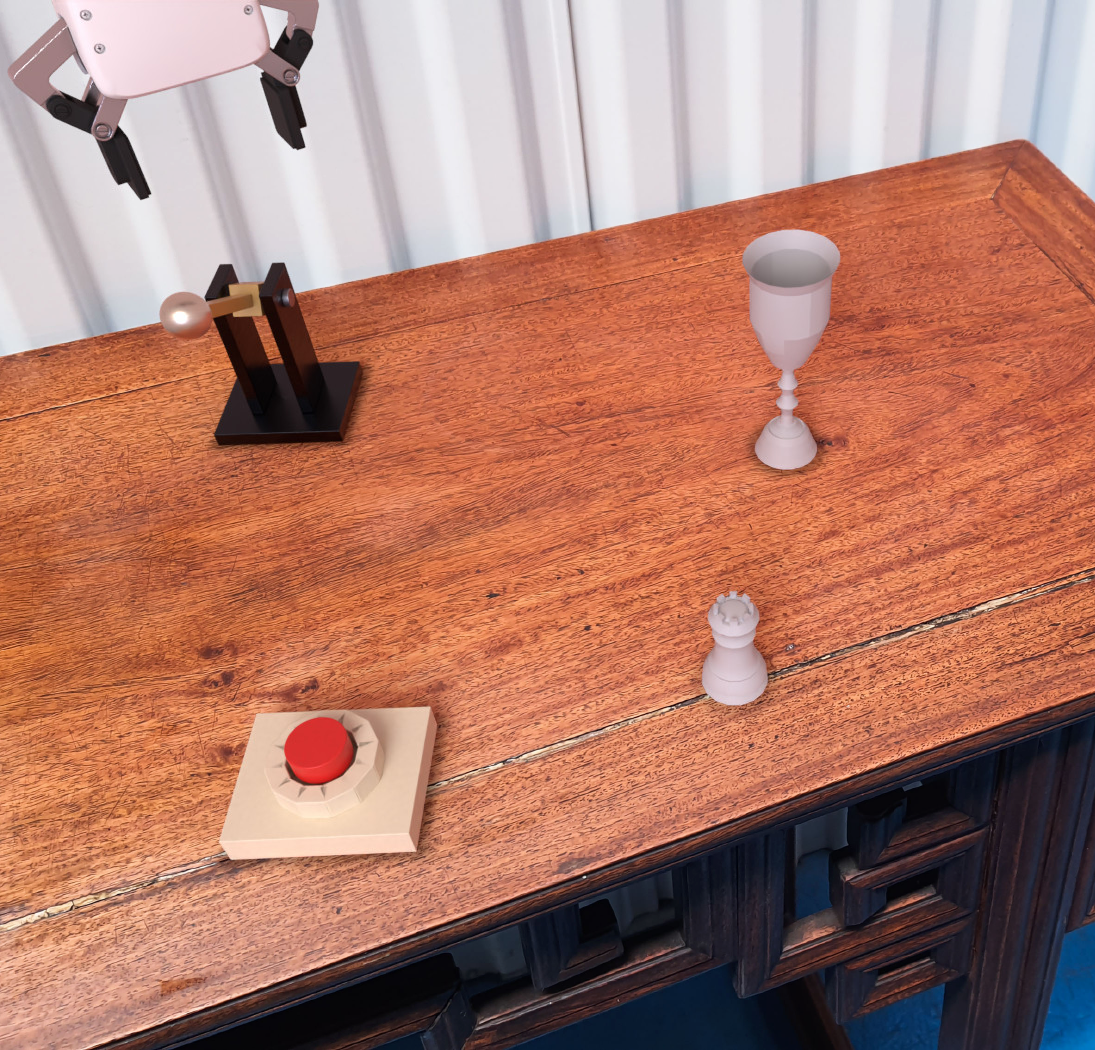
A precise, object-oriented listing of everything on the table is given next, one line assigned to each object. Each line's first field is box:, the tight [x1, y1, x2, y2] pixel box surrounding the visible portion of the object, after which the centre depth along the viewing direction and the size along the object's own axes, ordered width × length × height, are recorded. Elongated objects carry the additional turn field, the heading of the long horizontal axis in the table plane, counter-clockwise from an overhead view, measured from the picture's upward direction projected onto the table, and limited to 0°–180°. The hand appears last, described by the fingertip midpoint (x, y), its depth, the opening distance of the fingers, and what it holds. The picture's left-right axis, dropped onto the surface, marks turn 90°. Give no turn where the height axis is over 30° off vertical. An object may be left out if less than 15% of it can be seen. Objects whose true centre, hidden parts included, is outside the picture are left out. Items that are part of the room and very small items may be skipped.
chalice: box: [741, 229, 841, 471], centre depth 88 cm, size 7×7×18 cm
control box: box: [218, 706, 438, 861], centre depth 71 cm, size 11×9×4 cm
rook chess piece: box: [701, 590, 769, 706], centre depth 75 cm, size 4×4×8 cm
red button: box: [284, 717, 354, 784], centre depth 69 cm, size 4×4×2 cm
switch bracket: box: [203, 262, 364, 446], centre depth 93 cm, size 9×10×13 cm
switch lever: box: [159, 280, 266, 341], centre depth 84 cm, size 15×3×3 cm, turn 3°
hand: (217, 164), depth 73 cm, fingers open, 9 cm apart
